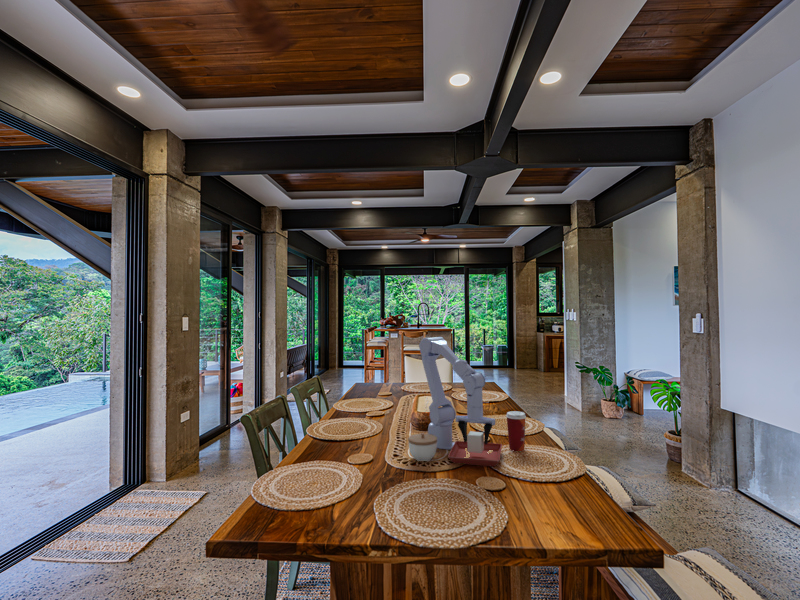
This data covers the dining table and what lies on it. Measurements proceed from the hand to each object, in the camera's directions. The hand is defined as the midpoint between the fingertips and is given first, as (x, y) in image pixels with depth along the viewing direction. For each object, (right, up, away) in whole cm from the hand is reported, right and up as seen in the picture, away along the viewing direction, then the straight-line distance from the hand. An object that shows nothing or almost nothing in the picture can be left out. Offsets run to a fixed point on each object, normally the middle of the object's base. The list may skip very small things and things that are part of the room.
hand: (475, 442), depth 148 cm
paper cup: (+18, -6, +8) cm, 20 cm away
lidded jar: (-20, -6, -1) cm, 20 cm away
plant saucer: (0, -6, 0) cm, 6 cm away
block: (0, -3, -1) cm, 3 cm away
